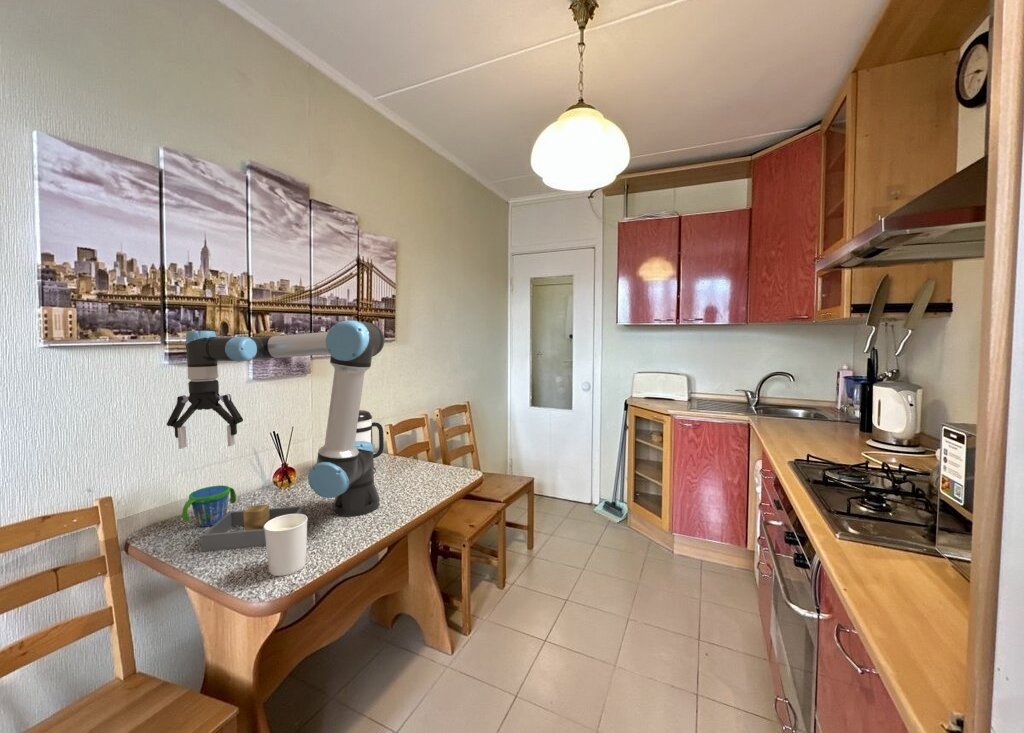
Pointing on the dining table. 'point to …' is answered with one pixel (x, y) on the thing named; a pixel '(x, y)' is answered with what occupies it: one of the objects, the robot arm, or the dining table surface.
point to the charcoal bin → (240, 539)
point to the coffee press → (368, 431)
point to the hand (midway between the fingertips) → (207, 446)
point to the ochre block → (256, 517)
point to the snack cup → (209, 504)
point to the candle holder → (286, 543)
